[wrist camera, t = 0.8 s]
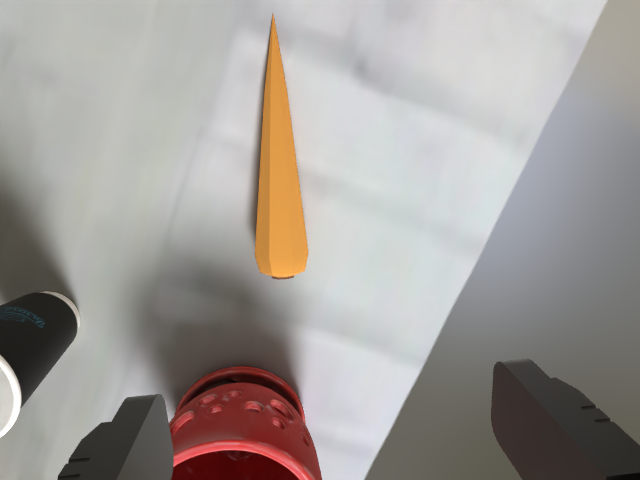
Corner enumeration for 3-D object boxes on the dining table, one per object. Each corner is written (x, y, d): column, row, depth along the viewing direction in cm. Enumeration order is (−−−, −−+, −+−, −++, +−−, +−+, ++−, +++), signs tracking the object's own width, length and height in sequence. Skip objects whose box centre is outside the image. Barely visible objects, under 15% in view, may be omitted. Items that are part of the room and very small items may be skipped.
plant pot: (266, 492, 42) (255, 630, 30) (148, 430, 40) (86, 553, 28) (344, 395, 40) (365, 504, 28) (224, 322, 37) (192, 408, 26)
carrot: (298, 268, 37) (320, 279, 33) (248, 274, 36) (264, 286, 31) (290, 26, 34) (313, 5, 30) (235, 19, 33) (251, -4, 29)
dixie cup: (26, 369, 37) (-82, 464, 27) (-15, 287, 35) (-149, 354, 25) (113, 346, 37) (40, 431, 27) (77, 262, 35) (-17, 318, 25)
